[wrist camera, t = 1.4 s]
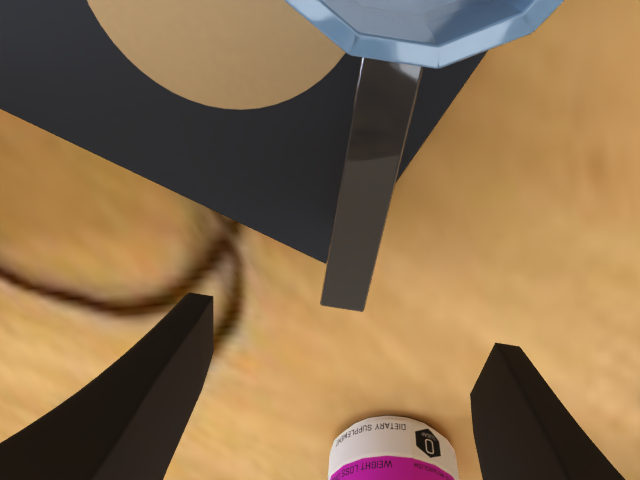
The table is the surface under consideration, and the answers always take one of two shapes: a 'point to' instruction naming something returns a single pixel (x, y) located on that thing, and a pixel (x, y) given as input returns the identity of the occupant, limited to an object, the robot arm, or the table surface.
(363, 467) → the supplement can
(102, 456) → the robot arm
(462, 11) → the pot
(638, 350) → the table surface
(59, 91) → the desk mat
